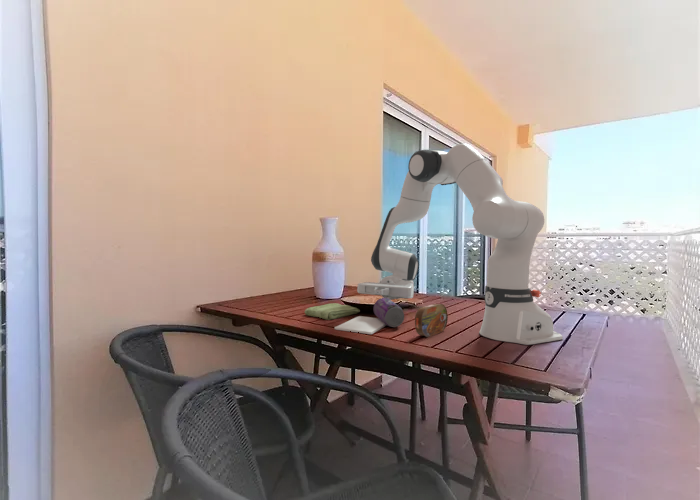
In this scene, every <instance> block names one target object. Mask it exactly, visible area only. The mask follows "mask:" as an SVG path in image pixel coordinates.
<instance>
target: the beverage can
mask: <svg viewBox="0 0 700 500" xmlns="http://www.w3.org/2000/svg"><path fill="white" fill-rule="evenodd" d="M372 311H373V313H374V315H375V316H376V318H379V319H380V320H381V321H382V322H383V323H385V324H386V326H388V327H391V328H398V327H400V325H402V324H403V322H404V320H405V312H404V310H403V309H402V307H401V306H399V305H398V304H397V303H396V302H395V301H393V300H390V299H388V298H384V297H380V298H379V299H378V300H376V301H375V302H374V305H373V310H372Z"/></svg>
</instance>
